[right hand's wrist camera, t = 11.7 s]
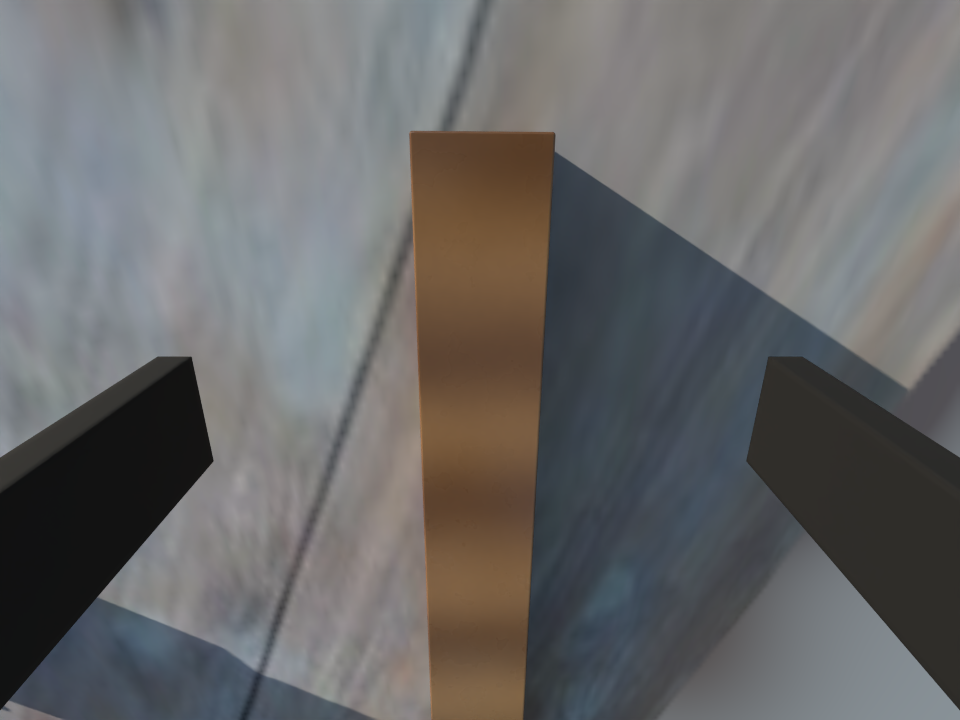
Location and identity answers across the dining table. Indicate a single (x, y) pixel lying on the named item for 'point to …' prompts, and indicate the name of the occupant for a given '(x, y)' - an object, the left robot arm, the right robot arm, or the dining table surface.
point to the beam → (480, 403)
